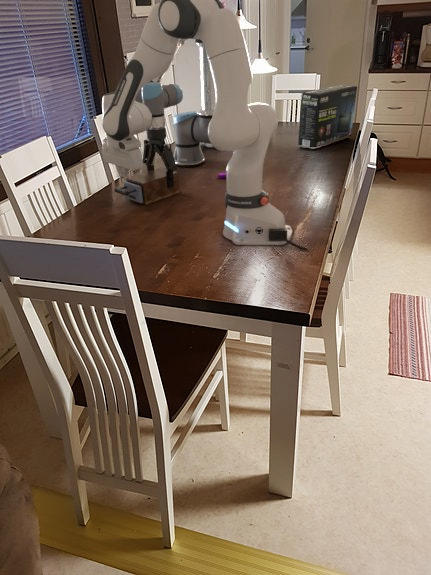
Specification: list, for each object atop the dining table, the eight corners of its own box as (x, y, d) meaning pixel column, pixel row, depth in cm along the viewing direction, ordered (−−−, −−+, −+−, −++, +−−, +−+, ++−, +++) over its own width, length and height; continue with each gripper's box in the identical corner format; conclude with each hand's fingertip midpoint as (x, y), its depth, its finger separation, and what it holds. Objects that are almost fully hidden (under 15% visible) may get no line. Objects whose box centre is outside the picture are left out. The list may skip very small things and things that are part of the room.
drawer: (129, 207, 171) (126, 190, 167) (114, 201, 177) (111, 185, 173) (173, 191, 184) (171, 176, 180) (157, 187, 190) (156, 171, 186)
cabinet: (145, 204, 175) (143, 183, 171) (128, 198, 182) (125, 178, 177) (179, 192, 186) (178, 172, 181) (162, 187, 192) (160, 167, 188)
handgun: (217, 176, 201) (217, 172, 200) (234, 175, 202) (234, 170, 201) (227, 191, 184) (227, 187, 183) (245, 189, 185) (245, 185, 184)
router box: (314, 151, 231) (318, 94, 217) (296, 148, 237) (299, 92, 224) (352, 138, 251) (358, 85, 238) (335, 135, 258) (340, 83, 245)
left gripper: (129, 125, 178) (136, 180, 189) (168, 133, 164) (173, 192, 175) (144, 122, 182) (150, 176, 194) (183, 129, 168) (187, 187, 179)
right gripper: (95, 137, 168) (101, 174, 175) (129, 146, 156) (134, 185, 163) (110, 134, 172) (115, 170, 179) (143, 142, 159) (148, 181, 167)
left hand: (161, 184), depth 184 cm, fingers closed on cabinet, 11 cm apart
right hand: (124, 177), depth 171 cm, fingers closed
